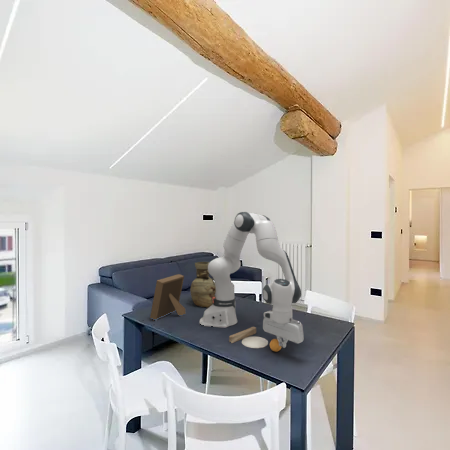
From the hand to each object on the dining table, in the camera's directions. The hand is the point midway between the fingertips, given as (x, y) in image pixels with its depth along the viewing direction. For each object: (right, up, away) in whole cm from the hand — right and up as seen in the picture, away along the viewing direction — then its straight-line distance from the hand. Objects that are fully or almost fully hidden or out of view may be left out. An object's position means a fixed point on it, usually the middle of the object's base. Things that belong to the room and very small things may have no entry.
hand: (282, 346), depth 130 cm
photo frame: (-60, -3, +52) cm, 80 cm away
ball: (-3, -1, +3) cm, 4 cm away
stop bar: (-17, -3, +19) cm, 25 cm away
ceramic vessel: (-41, -2, +77) cm, 88 cm away
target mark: (-11, -3, +13) cm, 17 cm away
